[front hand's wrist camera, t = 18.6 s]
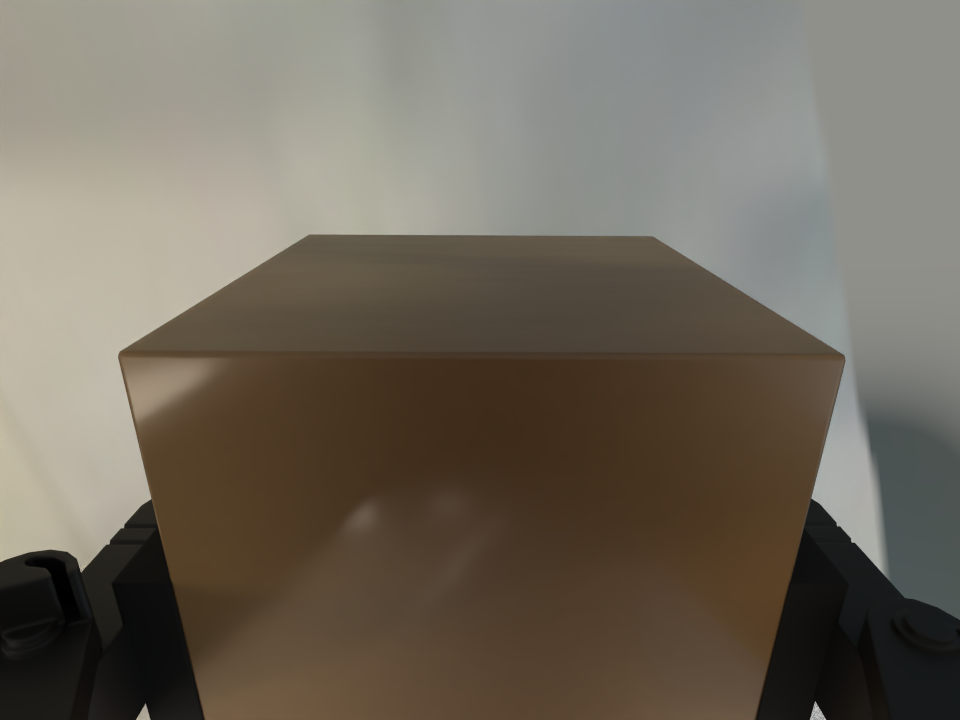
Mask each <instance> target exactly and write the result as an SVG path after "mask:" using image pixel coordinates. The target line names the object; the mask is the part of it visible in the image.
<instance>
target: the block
mask: <svg viewBox="0 0 960 720" xmlns="http://www.w3.org/2000/svg"><path fill="white" fill-rule="evenodd" d="M118 358H119V362H120V367H121V371H122V375H123V379H124V384H125V388H126V392H127V396H128V401H129V405H130V409H131V413H132V418H133V422H134V426H135V430H136V435H137V439H138V443H139V447H140V451H141V456H142V460H143V464H144V468H145V473H146V477H147V481H148V485H149V490H150V494H151V498H152V502H153V507H154V511H155V515H156V519H157V524H158V528H159V532H160V536H161V541H162V545H163V549H164V553H165V558H166V562H167V566H168V570H169V574H170V579H171V583H172V587H173V591H174V596H175V600H176V604H177V608H178V613H179V617H180V621H181V625H182V630H183V634H184V638H185V642H186V646H187V650H188V655H189V659H190V663H191V667H192V671H193V675H194V680H195V684H196V688H197V692H198V696H199V700H200V704H201V709H202V713H203V717H204V720H756V717H757V713H758V709H759V705H760V701H761V697H762V693H763V689H764V685H765V681H766V677H767V673H768V669H769V665H770V660H771V656H772V652H773V648H774V644H775V640H776V636H777V632H778V628H779V624H780V620H781V616H782V611H783V607H784V603H785V599H786V595H787V591H788V587H789V583H790V581H791V577H792V573H793V569H794V565H795V561H796V557H797V553H798V549H799V545H800V541H801V537H802V533H803V529H804V525H805V521H806V517H807V513H808V509H809V505H810V501H811V497H812V493H813V489H814V485H815V481H816V477H817V473H818V469H819V465H820V461H821V457H822V453H823V449H824V445H825V441H826V437H827V433H828V429H829V425H830V421H831V417H832V413H833V409H834V405H835V401H836V397H837V393H838V389H839V385H840V381H841V377H842V373H843V369H844V365H845V356H844V355H843V354H841V353H840V352H838V351H837V350H835V349H833V348H832V347H830V346H828V345H827V344H825V343H824V342H822V341H820V340H819V339H817V338H816V337H814V336H812V335H811V334H809V333H808V332H806V331H804V330H803V329H801V328H799V327H798V326H796V325H795V324H793V323H791V322H790V321H788V320H787V319H785V318H783V317H782V316H780V315H779V314H777V313H775V312H774V311H772V310H771V309H769V308H767V307H766V306H764V305H762V304H761V303H759V302H758V301H756V300H754V299H753V298H751V297H750V296H748V295H746V294H745V293H743V292H742V291H740V290H738V289H737V288H735V287H733V286H732V285H730V284H729V283H727V282H725V281H724V280H722V279H721V278H719V277H717V276H716V275H714V274H713V273H711V272H709V271H708V270H706V269H705V268H703V267H701V266H700V265H698V264H696V263H695V262H693V261H692V260H690V259H688V258H687V257H685V256H684V255H682V254H680V253H679V252H677V251H676V250H674V249H672V248H671V247H669V246H667V245H666V244H664V243H663V242H661V241H659V240H658V239H656V238H655V237H652V236H476V235H308V236H306V237H305V238H303V239H301V240H300V241H298V242H296V243H295V244H293V245H292V246H290V247H288V248H287V249H285V250H284V251H282V252H280V253H279V254H277V255H275V256H274V257H272V258H271V259H269V260H267V261H266V262H264V263H262V264H261V265H259V266H258V267H256V268H254V269H253V270H251V271H250V272H248V273H246V274H245V275H243V276H241V277H240V278H238V279H237V280H235V281H233V282H232V283H230V284H229V285H227V286H225V287H224V288H222V289H220V290H219V291H217V292H216V293H214V294H212V295H211V296H209V297H207V298H206V299H204V300H203V301H201V302H199V303H198V304H196V305H195V306H193V307H191V308H190V309H188V310H186V311H185V312H183V313H182V314H180V315H178V316H177V317H175V318H173V319H172V320H170V321H169V322H167V323H165V324H164V325H162V326H161V327H159V328H157V329H156V330H154V331H152V332H151V333H149V334H148V335H146V336H144V337H143V338H141V339H139V340H138V341H136V342H135V343H133V344H131V345H130V346H128V347H127V348H125V349H123V350H122V351H120V352H119V356H118Z"/></svg>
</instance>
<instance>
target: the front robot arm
mask: <svg viewBox="0 0 960 720" xmlns="http://www.w3.org/2000/svg"><path fill="white" fill-rule="evenodd" d="M815 701H816V703H817V705H818V706H819V708H820V710H821V711H822V713H823V715H824V717H825V718H826V720H960V620H959V619H957V618H955V617H953V616H952V615H950V614H948V613H946V612H944V611H943V610H941V609H939V608H937V607H934V606H931V605H929V604H926V603H923V602H920V601H917V600H914V599H907V598H904V597H903V596H902V595H901V593H900V592H899V591H898V590H897V589H896V588H895V587H894V586H893V585H892V583H891V582H890V581H889V580H888V579H887V578H886V577H885V576H884V575H883V574H882V572H881V571H880V570H879V569H878V568H877V567H876V566H875V565H874V564H873V562H872V561H871V560H870V559H869V558H868V557H867V556H866V555H865V554H864V553H863V551H862V550H861V549H860V548H859V547H858V546H857V545H856V544H855V543H852V542H851V538H850V537H849V536H848V535H847V534H846V533H845V532H844V530H843V529H842V528H841V527H837V524H836V522H835V520H834V519H833V518H832V517H831V516H830V515H829V514H828V513H827V512H826V511H825V509H824V508H823V507H822V506H821V505H820V504H819V503H817V502H816V501H814V500H813V499H811V501H810V505H809V509H808V513H807V517H806V521H805V525H804V529H803V533H802V537H801V541H800V545H799V549H798V553H797V557H796V561H795V565H794V569H793V573H792V577H791V581H790V583H789V587H788V591H787V595H786V599H785V603H784V607H783V611H782V616H781V620H780V624H779V628H778V632H777V636H776V640H775V644H774V648H773V652H772V656H771V660H770V665H769V669H768V673H767V677H766V681H765V685H764V689H763V693H762V697H761V701H760V705H759V709H758V713H757V717H756V720H810V717H811V714H812V710H813V707H814V703H815ZM145 703H146V705H147V709H148V712H149V716H150V719H151V720H204V717H203V713H202V709H201V704H200V700H199V696H198V692H197V688H196V684H195V680H194V675H193V671H192V667H191V663H190V659H189V655H188V650H187V646H186V642H185V638H184V634H183V630H182V625H181V621H180V617H179V613H178V608H177V604H176V600H175V596H174V591H173V587H172V583H171V579H170V574H169V570H168V566H167V562H166V558H165V553H164V549H163V545H162V541H161V536H160V532H159V528H158V524H157V519H156V515H155V511H154V507H153V502H152V499H151V500H150V501H148V502H146V503H145V504H143V505H142V506H141V507H140V508H139V509H138V510H137V511H136V512H135V513H134V515H133V516H132V517H131V518H130V519H129V520H128V521H127V522H126V523H125V525H124V528H121V529H120V530H119V531H118V532H117V533H116V535H115V536H114V537H113V538H112V539H111V540H110V544H109V545H106V546H105V547H104V548H103V549H102V550H101V551H100V552H99V554H98V555H97V556H96V557H95V558H94V559H93V560H92V561H91V562H90V564H89V565H88V566H87V567H86V568H85V569H84V570H83V571H82V572H81V571H80V568H79V565H78V562H77V559H76V558H75V557H73V556H72V555H71V554H69V553H68V552H64V551H56V550H45V551H37V552H29V553H26V554H23V555H20V556H16V557H13V558H10V559H7V560H4V561H2V562H0V720H136V719H137V717H138V715H139V714H140V712H141V710H142V708H143V707H144V705H145Z"/></svg>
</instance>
